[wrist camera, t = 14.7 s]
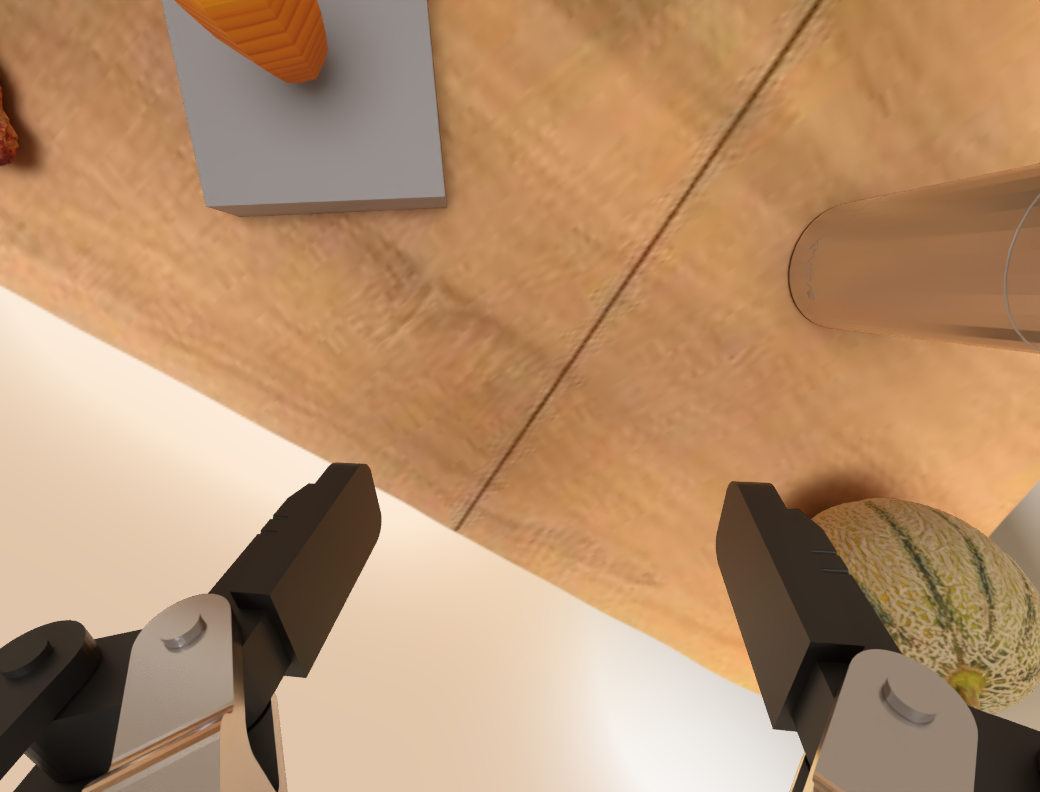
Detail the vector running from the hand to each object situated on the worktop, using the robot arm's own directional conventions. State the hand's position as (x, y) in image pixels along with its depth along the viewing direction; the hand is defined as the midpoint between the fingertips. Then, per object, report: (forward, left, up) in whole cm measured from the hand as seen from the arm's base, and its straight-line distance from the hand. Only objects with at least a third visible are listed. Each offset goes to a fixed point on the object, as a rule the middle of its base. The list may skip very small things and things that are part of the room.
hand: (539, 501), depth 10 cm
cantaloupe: (-29, +20, -24) cm, 42 cm away
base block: (+8, -16, -23) cm, 30 cm away
